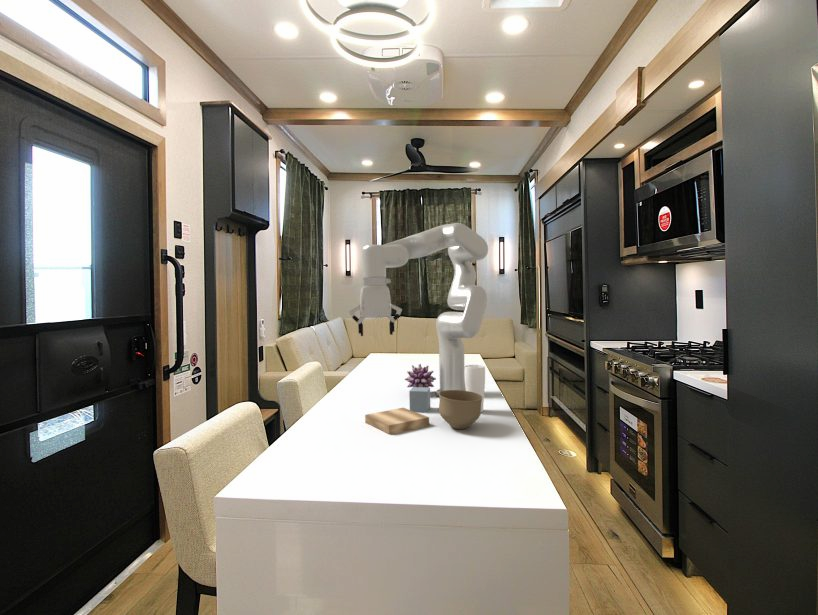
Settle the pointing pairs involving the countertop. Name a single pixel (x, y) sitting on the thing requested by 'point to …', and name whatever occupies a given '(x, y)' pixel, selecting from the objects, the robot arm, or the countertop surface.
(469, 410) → the bowl
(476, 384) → the drinking glass
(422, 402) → the slate tea tin
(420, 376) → the purple spiky ball
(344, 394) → the countertop surface
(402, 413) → the block
